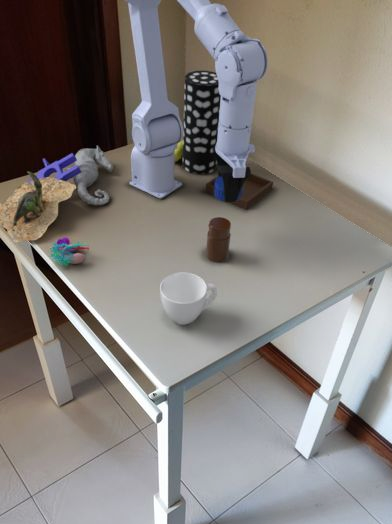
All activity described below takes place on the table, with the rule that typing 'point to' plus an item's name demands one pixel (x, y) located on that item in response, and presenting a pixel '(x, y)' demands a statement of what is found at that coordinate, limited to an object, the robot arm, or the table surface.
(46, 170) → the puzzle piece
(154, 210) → the table surface
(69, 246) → the anatomy model
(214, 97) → the spotted tube
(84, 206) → the table surface
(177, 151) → the lemon
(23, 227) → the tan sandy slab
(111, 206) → the table surface
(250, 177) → the tray
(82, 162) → the seahorse
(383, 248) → the table surface
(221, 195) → the jar lid
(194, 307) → the cup
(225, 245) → the jar
